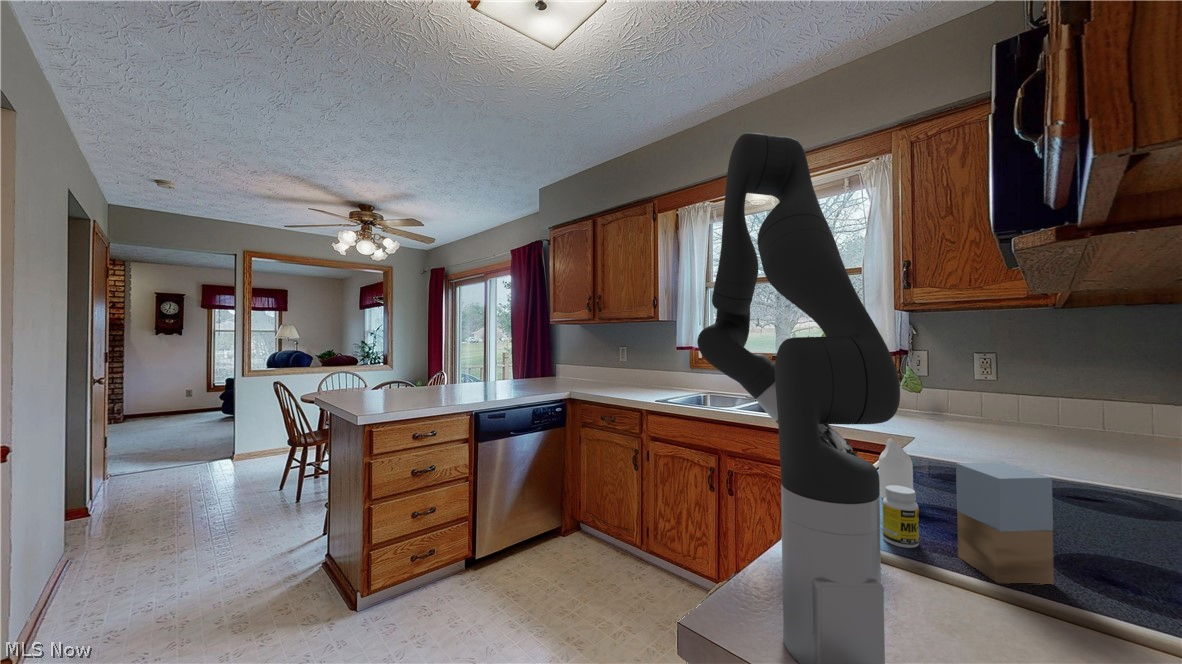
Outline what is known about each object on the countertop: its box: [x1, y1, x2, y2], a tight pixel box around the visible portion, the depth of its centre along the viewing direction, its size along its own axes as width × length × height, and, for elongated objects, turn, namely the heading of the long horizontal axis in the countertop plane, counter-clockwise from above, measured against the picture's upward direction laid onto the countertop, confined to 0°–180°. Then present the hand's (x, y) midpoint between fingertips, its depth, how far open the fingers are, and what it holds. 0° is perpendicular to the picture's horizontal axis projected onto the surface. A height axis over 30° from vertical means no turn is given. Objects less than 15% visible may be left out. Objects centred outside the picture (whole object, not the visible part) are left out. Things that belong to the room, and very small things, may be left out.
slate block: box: [955, 461, 1054, 532], centre depth 63 cm, size 7×7×7 cm
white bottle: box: [878, 438, 914, 499], centre depth 90 cm, size 6×12×6 cm
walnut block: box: [956, 510, 1055, 586], centre depth 63 cm, size 7×7×7 cm
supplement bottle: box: [882, 485, 920, 549], centre depth 71 cm, size 5×5×8 cm
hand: (866, 479), depth 74 cm, fingers open, 8 cm apart
